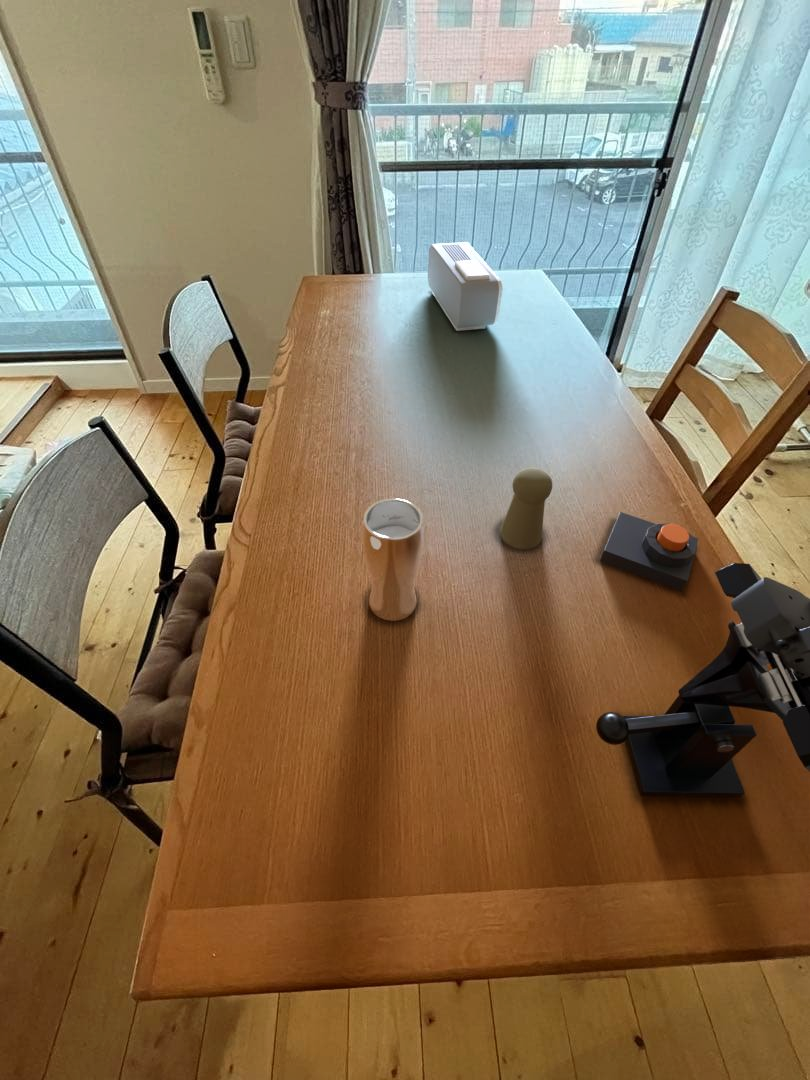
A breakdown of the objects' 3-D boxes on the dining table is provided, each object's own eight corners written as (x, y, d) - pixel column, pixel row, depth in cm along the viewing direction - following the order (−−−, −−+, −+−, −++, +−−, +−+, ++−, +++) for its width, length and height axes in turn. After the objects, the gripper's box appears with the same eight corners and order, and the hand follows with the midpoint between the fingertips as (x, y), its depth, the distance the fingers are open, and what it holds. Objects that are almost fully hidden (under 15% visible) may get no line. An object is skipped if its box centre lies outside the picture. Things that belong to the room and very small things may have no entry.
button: (686, 538, 75) (691, 529, 74) (682, 555, 73) (687, 546, 72) (659, 529, 77) (664, 520, 75) (654, 546, 74) (658, 536, 73)
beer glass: (359, 589, 73) (353, 504, 62) (408, 575, 75) (411, 491, 64) (375, 630, 68) (373, 547, 58) (428, 615, 70) (434, 531, 59)
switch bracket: (640, 796, 55) (681, 750, 47) (619, 720, 61) (653, 668, 53) (740, 797, 55) (797, 752, 47) (710, 722, 61) (756, 670, 53)
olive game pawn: (549, 542, 79) (567, 484, 72) (512, 553, 78) (526, 494, 70) (528, 515, 83) (542, 457, 75) (492, 525, 82) (503, 466, 74)
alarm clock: (497, 333, 125) (504, 278, 117) (457, 336, 124) (462, 281, 115) (461, 285, 144) (466, 235, 135) (426, 288, 142) (429, 237, 133)
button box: (692, 548, 79) (703, 529, 76) (681, 591, 74) (693, 572, 71) (615, 522, 83) (623, 502, 80) (599, 561, 77) (607, 541, 74)
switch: (600, 751, 54) (599, 738, 51) (593, 722, 56) (592, 708, 54) (733, 738, 51) (738, 724, 49) (720, 708, 53) (725, 693, 51)
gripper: (785, 489, 45) (612, 575, 53) (924, 693, 31) (663, 766, 40) (835, 561, 50) (670, 630, 58) (973, 764, 36) (733, 816, 45)
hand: (681, 697), depth 50 cm, fingers closed
